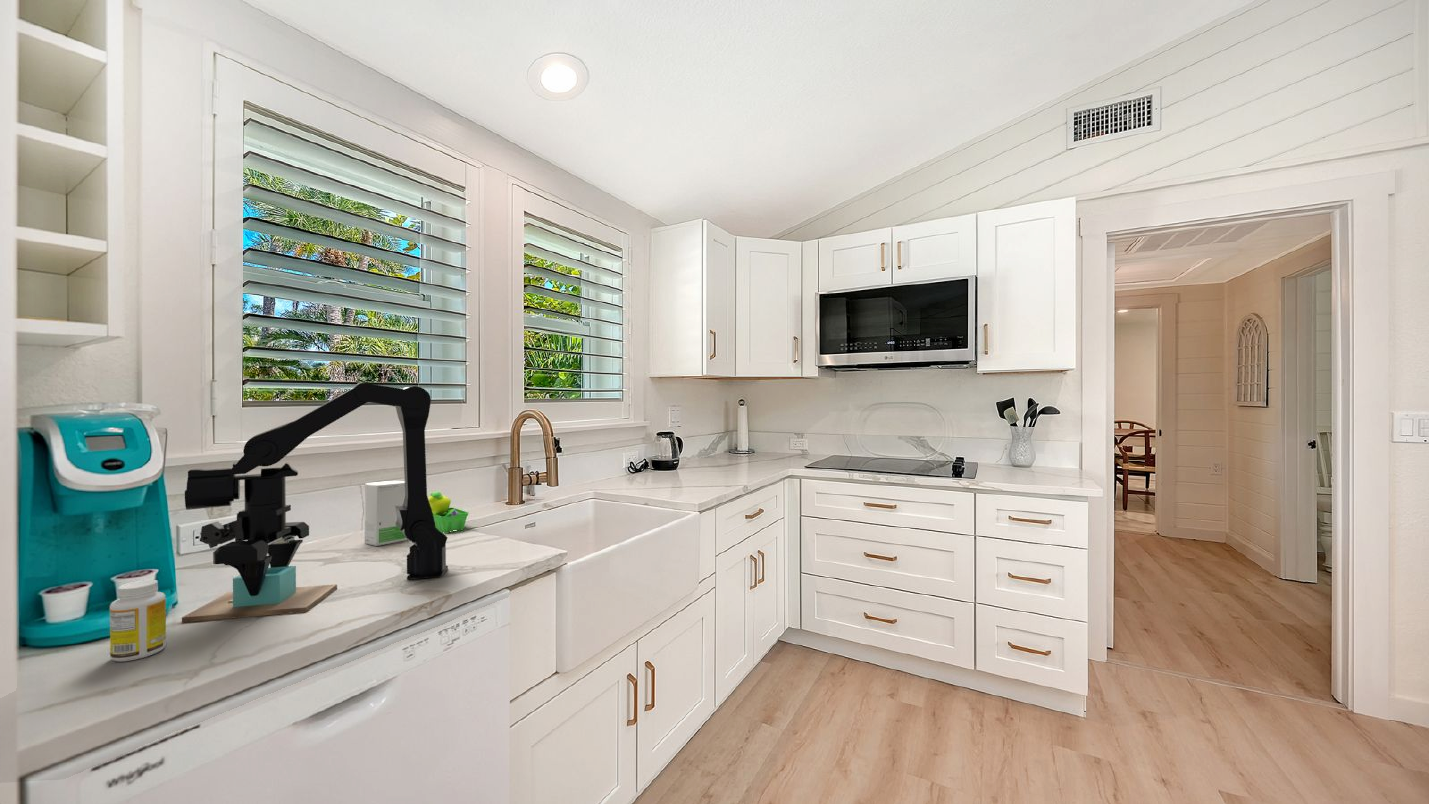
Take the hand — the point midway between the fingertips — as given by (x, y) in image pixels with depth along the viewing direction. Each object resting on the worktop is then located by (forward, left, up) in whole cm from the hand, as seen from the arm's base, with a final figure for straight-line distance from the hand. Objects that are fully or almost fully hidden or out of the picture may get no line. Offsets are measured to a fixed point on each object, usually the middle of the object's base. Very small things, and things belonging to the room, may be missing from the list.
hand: (266, 588), depth 97 cm
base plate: (0, 0, -3) cm, 3 cm away
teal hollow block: (0, 0, -2) cm, 2 cm away
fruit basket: (-18, -53, -3) cm, 56 cm away
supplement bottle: (+7, +18, -3) cm, 20 cm away
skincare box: (-6, -43, -3) cm, 44 cm away
